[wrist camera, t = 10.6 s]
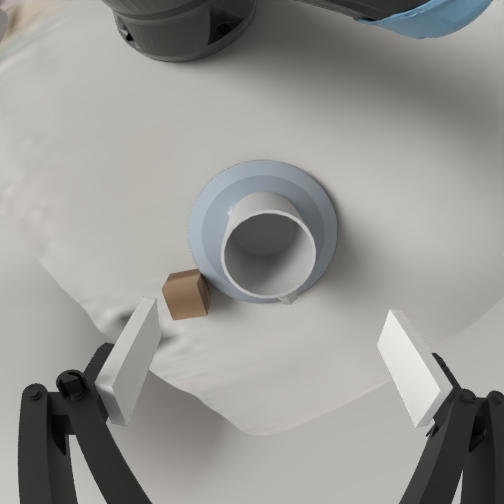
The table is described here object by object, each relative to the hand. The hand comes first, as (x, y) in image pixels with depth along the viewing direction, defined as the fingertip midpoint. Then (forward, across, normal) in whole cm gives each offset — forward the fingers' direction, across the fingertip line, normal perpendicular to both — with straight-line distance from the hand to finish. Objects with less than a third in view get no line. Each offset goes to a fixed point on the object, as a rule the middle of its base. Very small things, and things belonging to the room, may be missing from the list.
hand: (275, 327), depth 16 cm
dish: (+18, 0, -1) cm, 18 cm away
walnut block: (+18, -8, -8) cm, 21 cm away
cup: (+17, 0, -1) cm, 17 cm away
